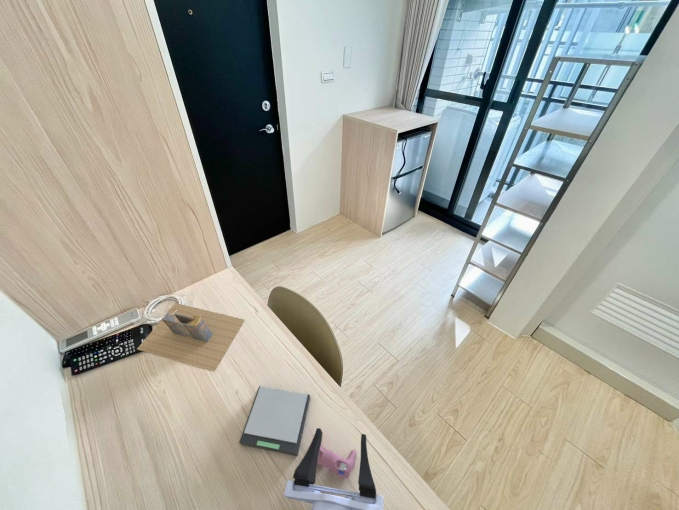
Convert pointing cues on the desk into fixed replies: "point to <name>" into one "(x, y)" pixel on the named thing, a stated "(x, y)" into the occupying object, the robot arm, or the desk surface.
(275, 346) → the desk surface
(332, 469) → the video game controller
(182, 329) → the ruin model on sheet
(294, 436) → the scale
